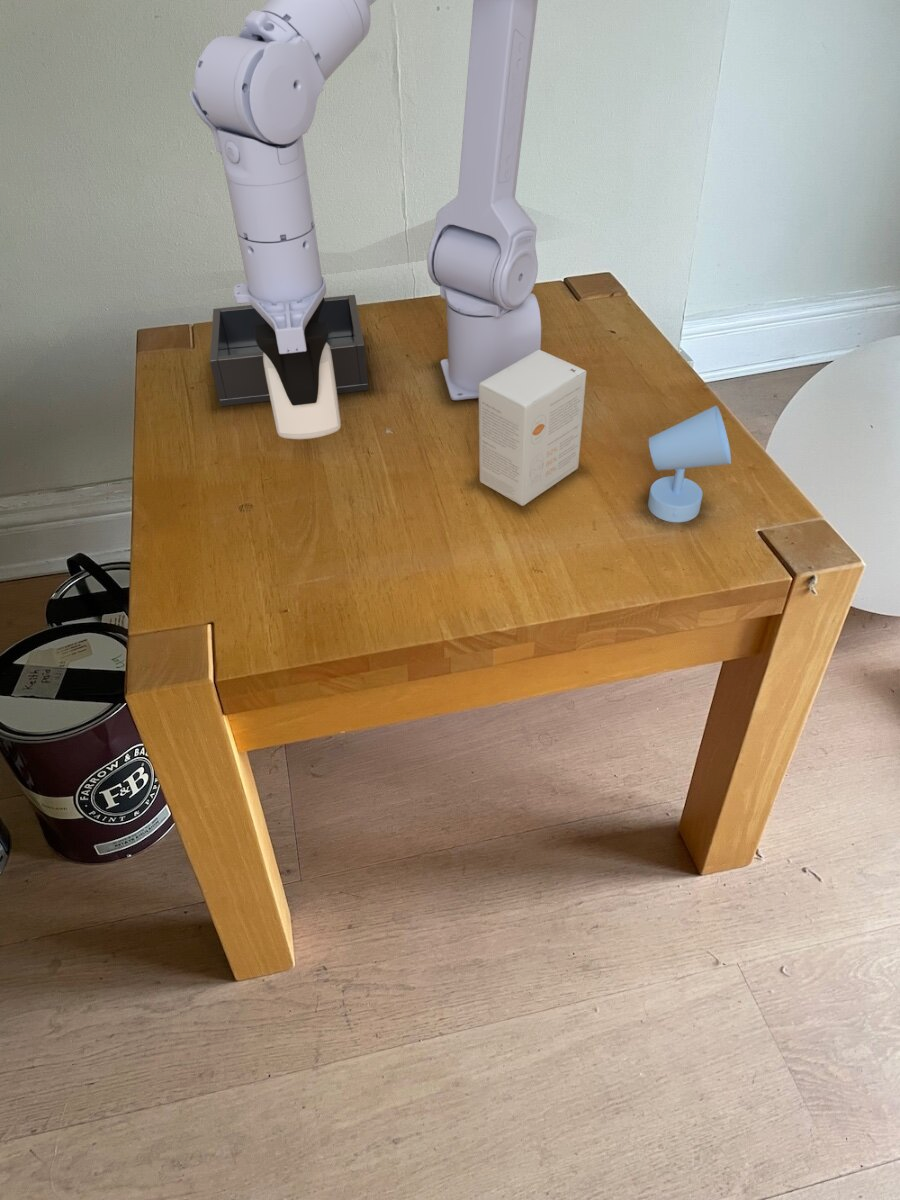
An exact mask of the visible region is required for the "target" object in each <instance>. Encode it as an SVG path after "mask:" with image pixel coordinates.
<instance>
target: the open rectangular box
mask: <svg viewBox="0 0 900 1200" xmlns="http://www.w3.org/2000/svg"><path fill="white" fill-rule="evenodd" d="M359 314H360V313H359V309H358V303H357V299H356V295H355V294H348V295H340V296H339V295H337V296H328V297H324V303H323V306H322V309H321V312H320V315H319V319H318V323H322V322H328V329H329V334H328V339H327V343H328V345H329V346H330V350H331V355H332V361H333V368H334V375H335V382H336V389H337V395H339V394H346V393H354V392H364V391H369V390H370V387H369V385H370V384H369V377H368V367H367V357H366V347H365V341H364V336H363V330H362V325H361V320H360V319H361V318H360V315H359ZM261 324H266V323H265V321H264V320H263V318H262V317H261V315H260V314H259V313H258V312H257V311H256V309H255V308H254V307H253V306H252V305H251V304H249V305H248V304H247V305H236V306H229V307H228V306H227V307H221V308H220V307H218V308H213V309H212V321H211V334H210V336H211V337H210V348H209V349H210V350H209V351H210V352H209V364H210V368H211V373H212V377H213V381H214V385H215V390H216V394H217V398H218V401H219V406H220V407H228V406H235V405H246V404H254V403H264V402H265V403H266V402H271V401H270V395H269V390H268V385H267V380H266V375H265V369H264V362H263V351H262V350H261V349H260V348H259V346H258V344H257V342H256V340H255V332H254V326H255V325H261Z"/></svg>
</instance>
